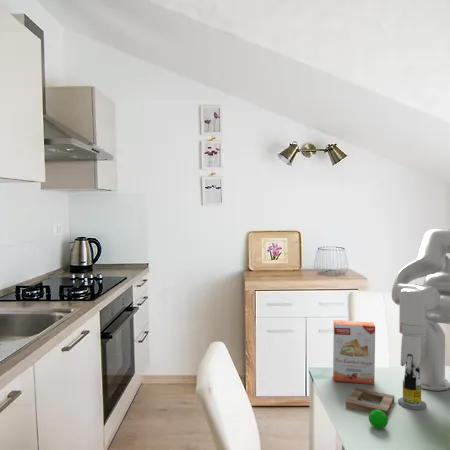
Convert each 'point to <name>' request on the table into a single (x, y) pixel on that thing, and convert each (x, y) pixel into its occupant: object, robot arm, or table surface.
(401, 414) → the table surface
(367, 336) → the cracker box
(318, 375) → the table surface
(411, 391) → the supplement bottle
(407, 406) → the slate coaster
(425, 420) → the table surface
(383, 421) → the polyhedron
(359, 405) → the holder block
